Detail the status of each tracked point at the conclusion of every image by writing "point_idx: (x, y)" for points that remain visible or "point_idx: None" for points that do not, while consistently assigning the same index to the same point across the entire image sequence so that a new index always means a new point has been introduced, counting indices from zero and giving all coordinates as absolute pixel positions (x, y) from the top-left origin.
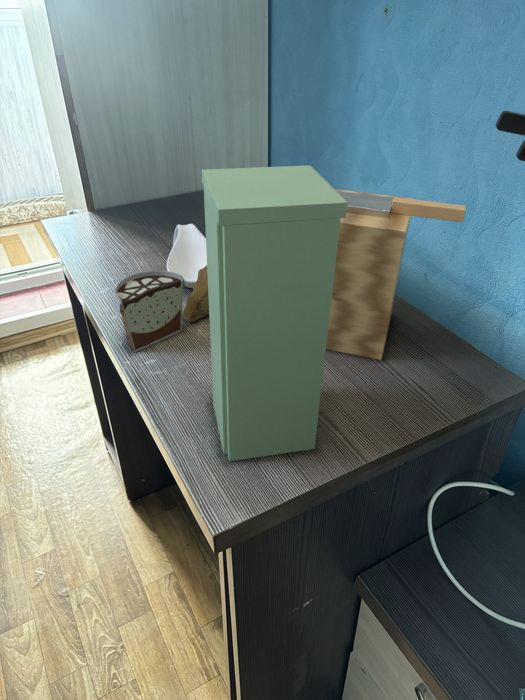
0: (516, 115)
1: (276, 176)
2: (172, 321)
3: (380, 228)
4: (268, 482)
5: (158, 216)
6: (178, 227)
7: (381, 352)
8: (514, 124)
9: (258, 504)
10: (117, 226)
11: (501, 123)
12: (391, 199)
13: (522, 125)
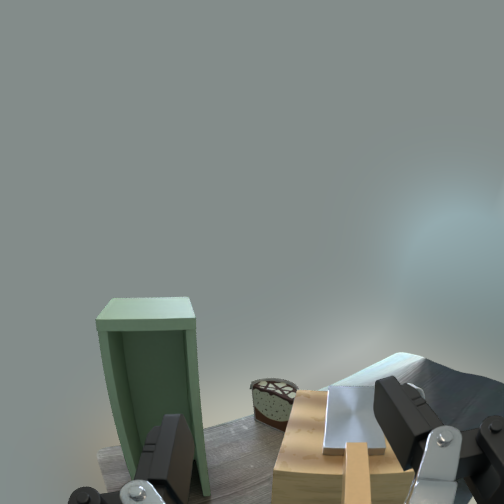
0: (389, 401)
1: (165, 308)
2: (282, 423)
3: (280, 448)
4: (117, 472)
5: (449, 377)
6: (401, 384)
7: None
8: (391, 425)
9: (103, 465)
10: (418, 371)
11: (376, 404)
12: (376, 445)
13: (400, 441)
